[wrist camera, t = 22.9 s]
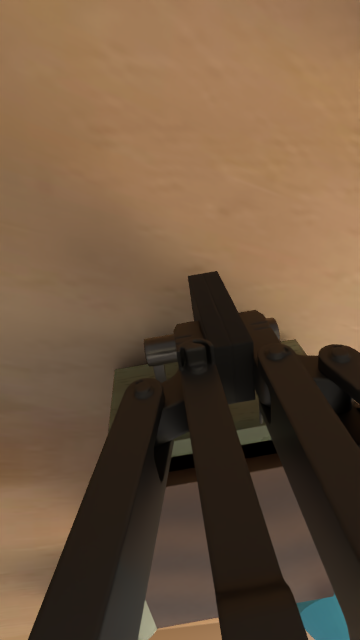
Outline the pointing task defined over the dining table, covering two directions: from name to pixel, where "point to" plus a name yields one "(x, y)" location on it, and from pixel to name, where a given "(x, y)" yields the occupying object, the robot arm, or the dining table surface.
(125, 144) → the dining table surface
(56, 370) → the dining table surface
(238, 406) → the drawer
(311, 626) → the teal vase
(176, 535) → the cabinet
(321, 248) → the dining table surface
